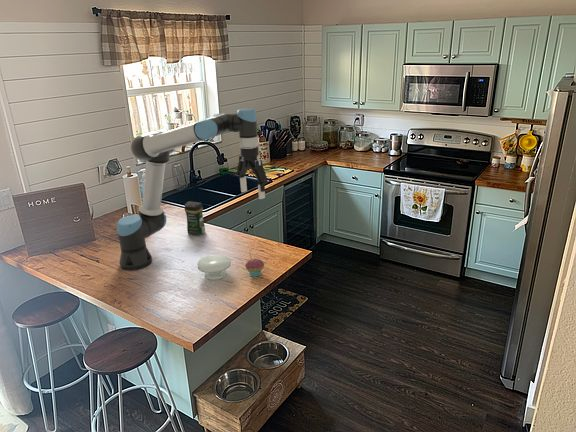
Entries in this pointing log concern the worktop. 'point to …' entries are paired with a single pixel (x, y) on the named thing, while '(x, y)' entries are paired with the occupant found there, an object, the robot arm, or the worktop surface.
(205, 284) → the worktop surface
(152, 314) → the worktop surface
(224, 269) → the cake stand
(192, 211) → the coffee jar
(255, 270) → the cupcake
